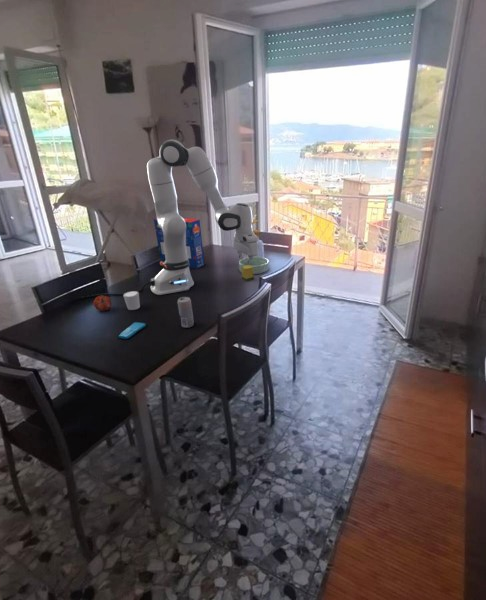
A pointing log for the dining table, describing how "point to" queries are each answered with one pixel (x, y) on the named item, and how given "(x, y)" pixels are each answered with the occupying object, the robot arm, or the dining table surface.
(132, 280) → the dining table surface
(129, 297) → the white cylinder
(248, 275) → the scrub block
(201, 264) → the pasta box
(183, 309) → the energy drink
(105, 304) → the pomegranate
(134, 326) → the sponge
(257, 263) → the basin
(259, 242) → the soap bottle
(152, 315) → the dining table surface
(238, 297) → the dining table surface
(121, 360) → the dining table surface
